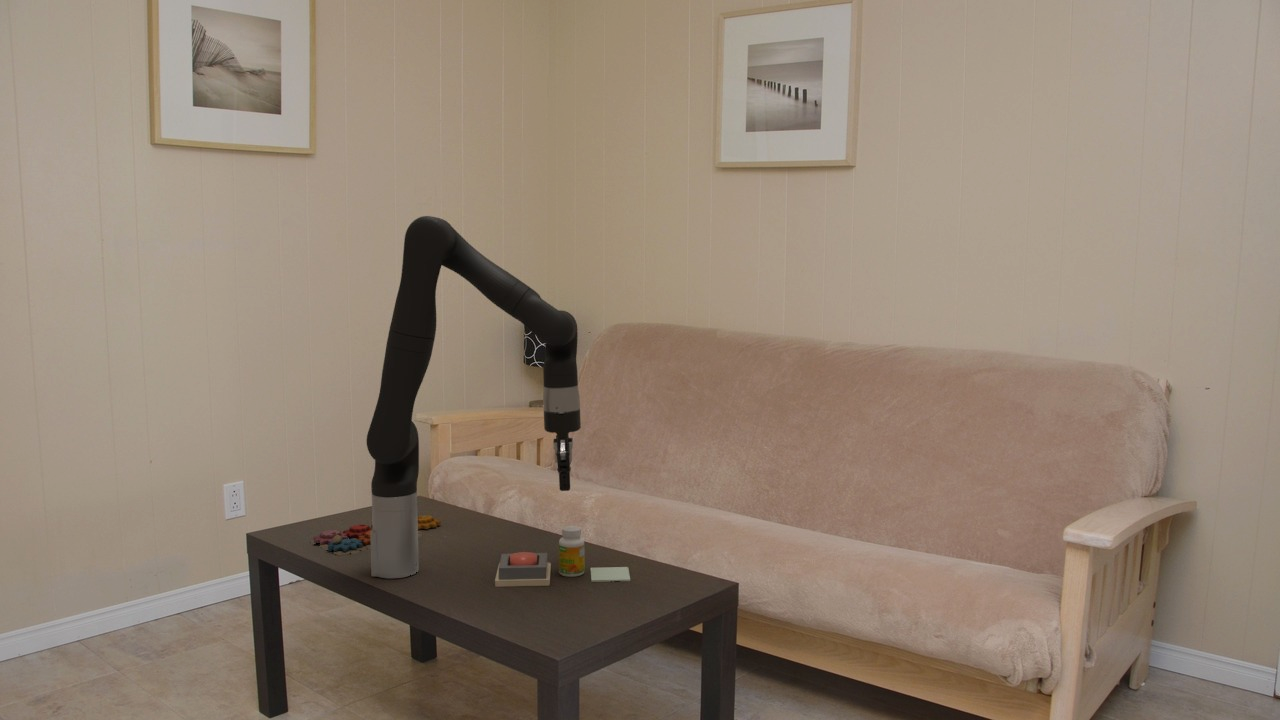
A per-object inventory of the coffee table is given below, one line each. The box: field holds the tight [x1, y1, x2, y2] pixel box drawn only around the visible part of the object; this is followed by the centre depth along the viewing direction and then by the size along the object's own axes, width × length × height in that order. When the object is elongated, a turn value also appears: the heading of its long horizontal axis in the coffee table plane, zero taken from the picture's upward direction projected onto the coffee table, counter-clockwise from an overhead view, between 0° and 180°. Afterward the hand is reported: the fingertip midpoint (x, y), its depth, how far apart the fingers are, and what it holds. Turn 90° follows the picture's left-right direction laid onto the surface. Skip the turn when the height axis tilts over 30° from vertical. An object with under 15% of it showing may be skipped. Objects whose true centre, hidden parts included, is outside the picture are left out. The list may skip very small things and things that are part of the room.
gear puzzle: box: [312, 515, 442, 554], centre depth 229 cm, size 31×16×4 cm, turn 134°
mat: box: [590, 566, 631, 583], centre depth 201 cm, size 8×8×1 cm
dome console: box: [494, 552, 552, 588], centre depth 200 cm, size 11×11×4 cm
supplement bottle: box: [558, 525, 586, 578], centre depth 202 cm, size 5×5×10 cm
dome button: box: [510, 551, 537, 566], centre depth 199 cm, size 6×6×3 cm
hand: (565, 489), depth 200 cm, fingers closed
